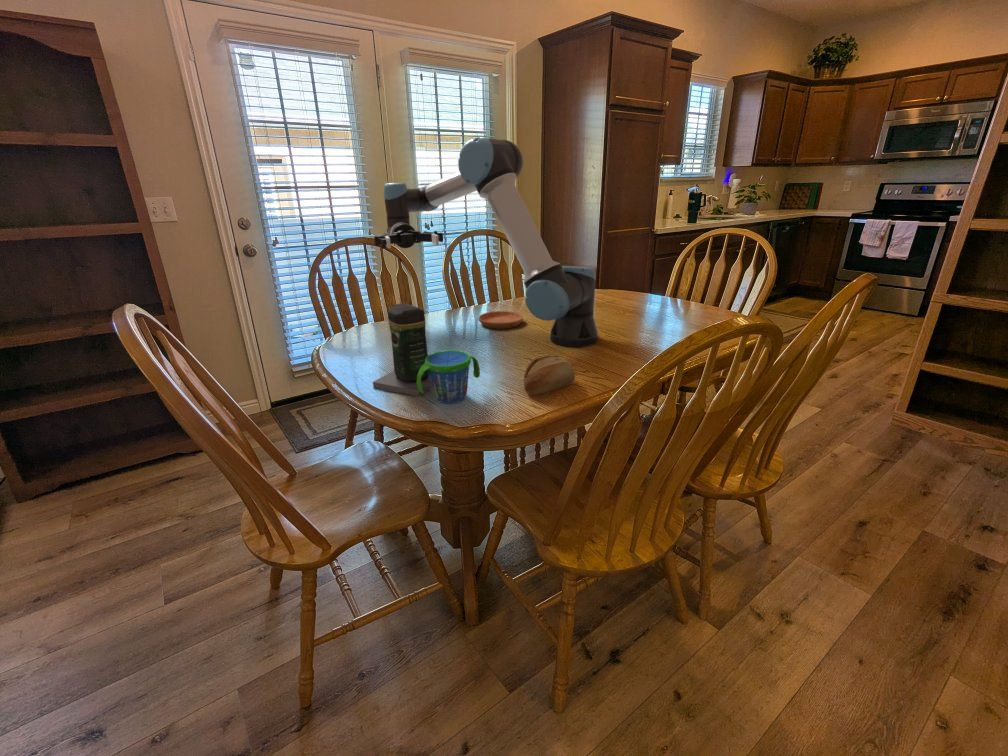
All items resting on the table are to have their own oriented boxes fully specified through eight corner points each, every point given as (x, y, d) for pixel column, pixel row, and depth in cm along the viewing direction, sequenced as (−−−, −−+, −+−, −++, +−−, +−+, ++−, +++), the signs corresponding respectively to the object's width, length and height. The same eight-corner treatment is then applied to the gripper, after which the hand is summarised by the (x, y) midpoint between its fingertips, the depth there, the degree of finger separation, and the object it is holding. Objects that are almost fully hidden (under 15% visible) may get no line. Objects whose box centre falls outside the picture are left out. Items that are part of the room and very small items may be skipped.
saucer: (527, 329, 163) (527, 320, 162) (481, 332, 161) (481, 323, 160) (518, 317, 178) (518, 309, 176) (476, 320, 175) (476, 312, 174)
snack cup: (426, 414, 103) (422, 371, 100) (411, 397, 112) (407, 356, 108) (490, 398, 110) (488, 358, 106) (471, 383, 119) (469, 345, 115)
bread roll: (512, 391, 114) (512, 360, 111) (554, 375, 123) (555, 346, 120) (540, 403, 107) (541, 371, 104) (583, 385, 116) (584, 355, 113)
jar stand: (450, 376, 124) (450, 370, 123) (419, 396, 112) (418, 390, 111) (407, 368, 129) (406, 363, 129) (373, 387, 118) (372, 381, 117)
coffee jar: (435, 378, 119) (429, 306, 112) (406, 385, 114) (397, 311, 107) (418, 367, 126) (412, 299, 119) (390, 374, 122) (382, 303, 115)
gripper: (442, 244, 156) (457, 252, 138) (365, 249, 149) (369, 258, 130) (440, 221, 153) (455, 225, 135) (361, 224, 146) (366, 230, 127)
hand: (413, 241), depth 132 cm, fingers open, 13 cm apart
